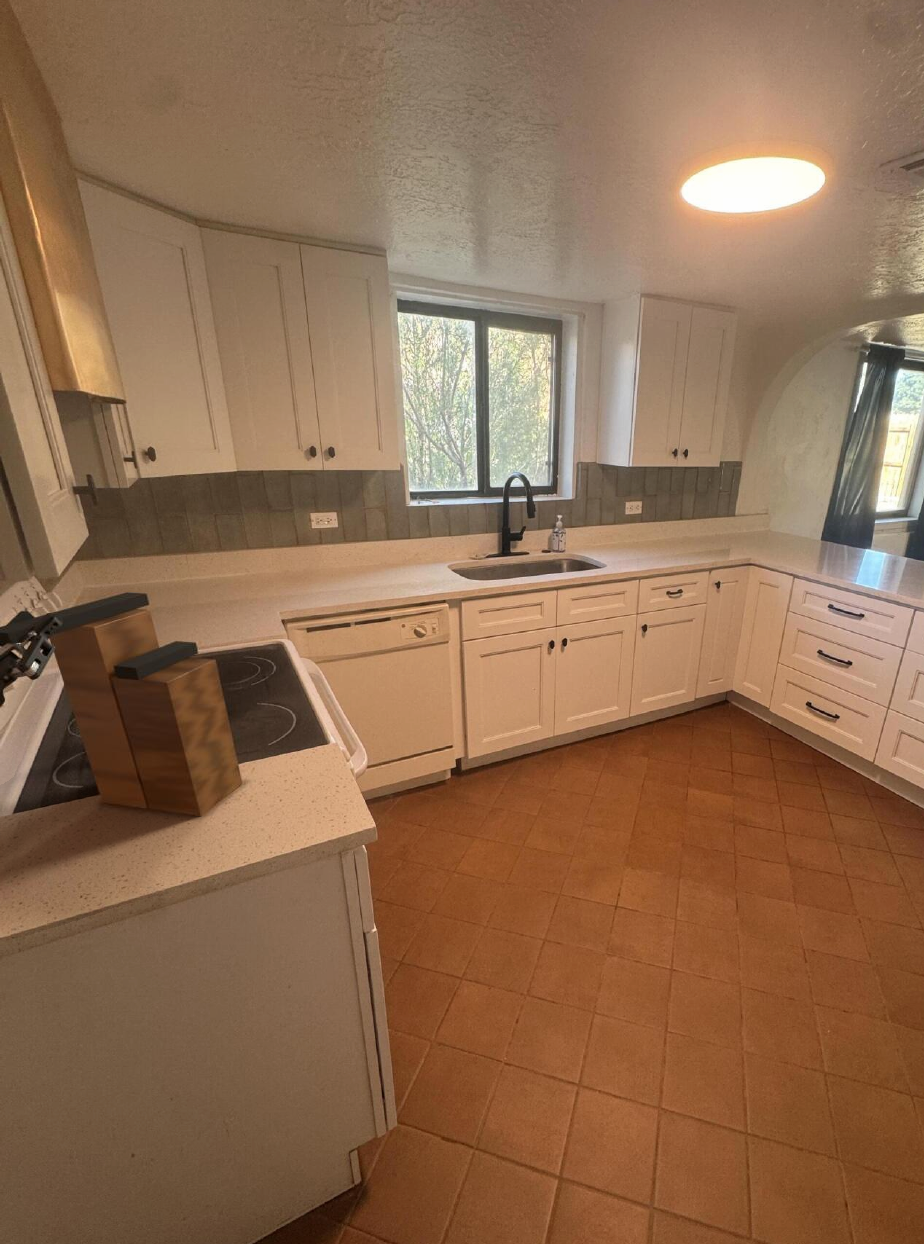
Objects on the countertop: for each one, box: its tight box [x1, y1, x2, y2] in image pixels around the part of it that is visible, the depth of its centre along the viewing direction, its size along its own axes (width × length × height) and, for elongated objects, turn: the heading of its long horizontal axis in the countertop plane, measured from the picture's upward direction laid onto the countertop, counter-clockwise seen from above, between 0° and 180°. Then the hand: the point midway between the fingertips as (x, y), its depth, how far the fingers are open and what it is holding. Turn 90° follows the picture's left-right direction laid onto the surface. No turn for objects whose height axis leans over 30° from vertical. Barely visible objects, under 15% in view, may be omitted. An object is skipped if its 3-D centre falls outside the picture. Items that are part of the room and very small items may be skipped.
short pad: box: [113, 640, 199, 680], centre depth 92 cm, size 12×4×2 cm, turn 169°
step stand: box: [48, 608, 243, 817], centre depth 95 cm, size 10×20×32 cm, turn 79°
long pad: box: [0, 592, 150, 646], centre depth 86 cm, size 22×4×2 cm, turn 169°
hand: (42, 616), depth 82 cm, fingers closed on long pad, 4 cm apart
